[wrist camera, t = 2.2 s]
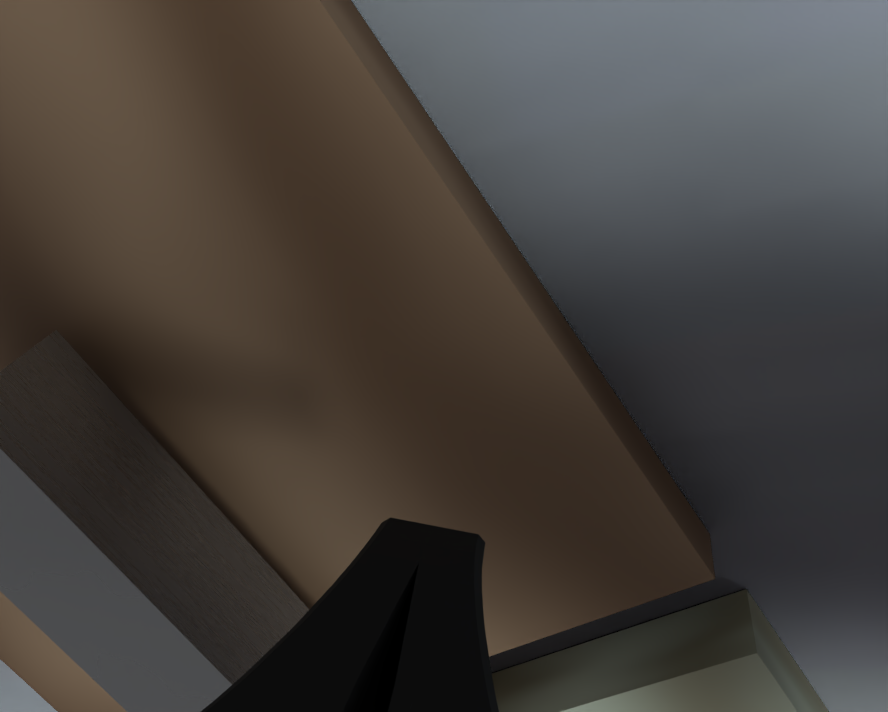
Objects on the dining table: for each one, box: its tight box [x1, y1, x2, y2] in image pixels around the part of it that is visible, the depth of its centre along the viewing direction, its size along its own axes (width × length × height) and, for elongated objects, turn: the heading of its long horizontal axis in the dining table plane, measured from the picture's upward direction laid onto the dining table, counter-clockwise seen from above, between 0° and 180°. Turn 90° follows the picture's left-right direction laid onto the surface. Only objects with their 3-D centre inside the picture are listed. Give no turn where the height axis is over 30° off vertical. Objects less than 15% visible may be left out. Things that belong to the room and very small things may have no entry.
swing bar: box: [0, 330, 309, 712], centre depth 15 cm, size 14×3×3 cm, turn 36°
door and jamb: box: [0, 0, 829, 712], centre depth 17 cm, size 16×28×4 cm, turn 36°
